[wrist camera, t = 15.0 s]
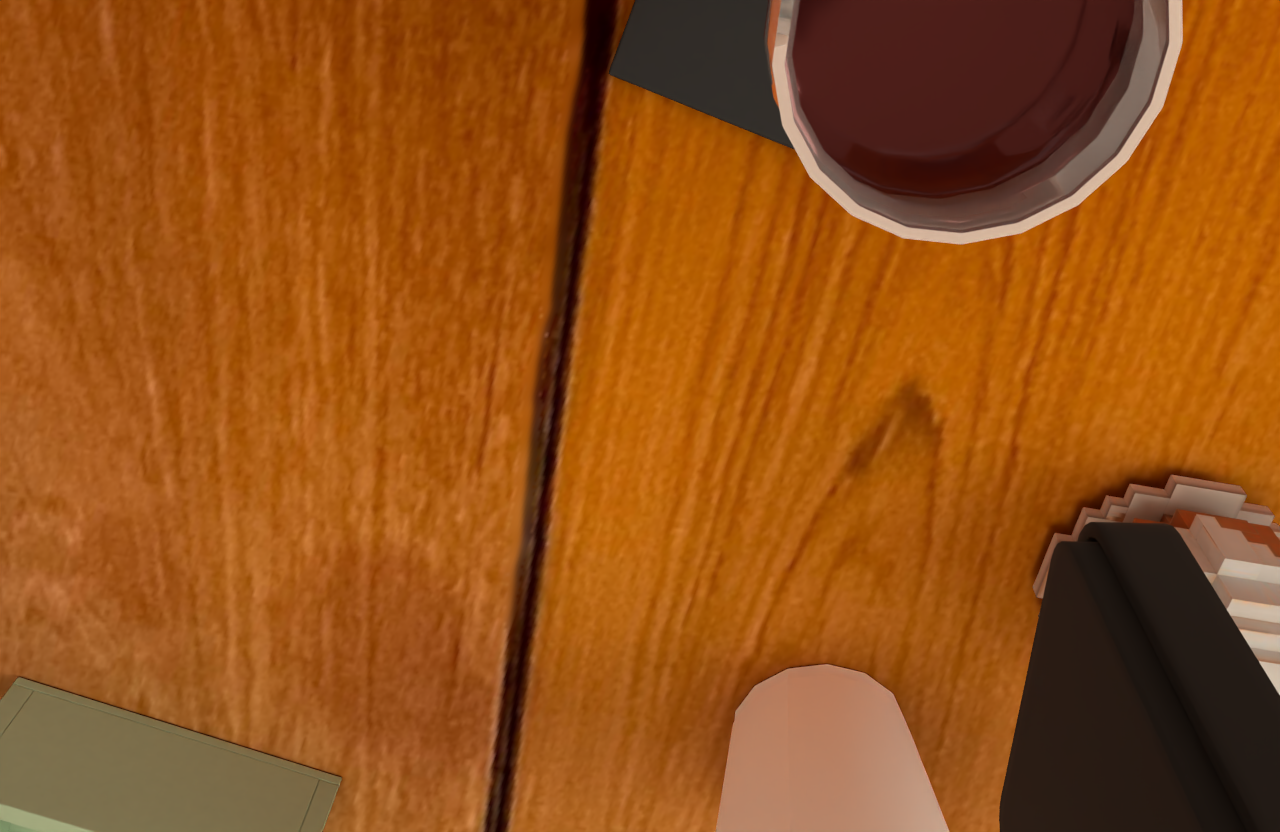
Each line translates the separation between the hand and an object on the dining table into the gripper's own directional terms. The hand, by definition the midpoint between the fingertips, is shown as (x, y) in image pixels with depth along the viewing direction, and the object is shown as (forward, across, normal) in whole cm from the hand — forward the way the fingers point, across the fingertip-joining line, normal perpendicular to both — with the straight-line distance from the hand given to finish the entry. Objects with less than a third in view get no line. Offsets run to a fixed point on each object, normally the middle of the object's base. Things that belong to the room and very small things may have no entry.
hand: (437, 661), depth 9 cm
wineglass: (+25, -7, -2) cm, 26 cm away
